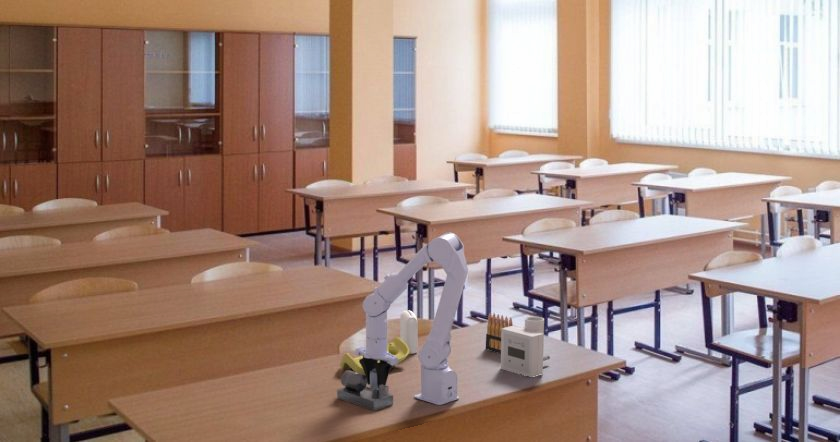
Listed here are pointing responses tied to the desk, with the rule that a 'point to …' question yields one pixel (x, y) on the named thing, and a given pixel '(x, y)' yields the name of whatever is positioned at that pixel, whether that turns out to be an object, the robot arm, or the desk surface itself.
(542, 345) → the thermostat
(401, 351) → the plastic component
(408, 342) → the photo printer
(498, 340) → the ammunition clip
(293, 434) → the desk surface
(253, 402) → the desk surface
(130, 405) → the desk surface
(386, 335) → the robot arm
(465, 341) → the desk surface
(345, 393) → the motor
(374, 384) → the grey capped cylinder
